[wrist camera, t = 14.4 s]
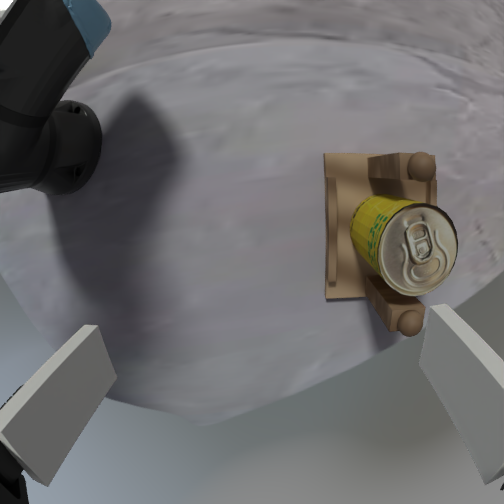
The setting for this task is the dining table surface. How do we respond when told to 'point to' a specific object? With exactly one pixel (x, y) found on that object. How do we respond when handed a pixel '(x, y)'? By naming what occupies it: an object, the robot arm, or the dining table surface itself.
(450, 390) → the robot arm
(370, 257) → the beverage can
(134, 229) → the dining table surface
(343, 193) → the knobbed wooden cradle
